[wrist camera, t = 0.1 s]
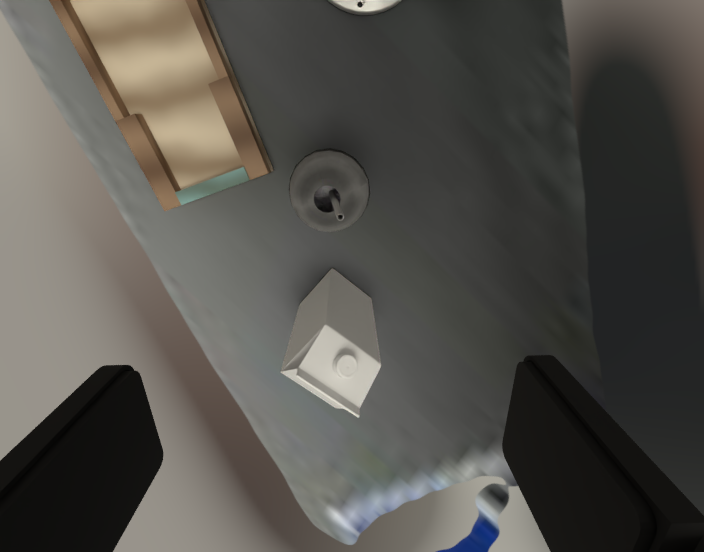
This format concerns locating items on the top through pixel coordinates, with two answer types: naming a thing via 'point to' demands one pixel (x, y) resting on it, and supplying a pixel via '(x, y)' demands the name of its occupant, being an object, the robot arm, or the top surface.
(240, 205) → the top surface
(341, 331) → the milk carton
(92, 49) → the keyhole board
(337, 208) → the beverage cup
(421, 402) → the top surface
